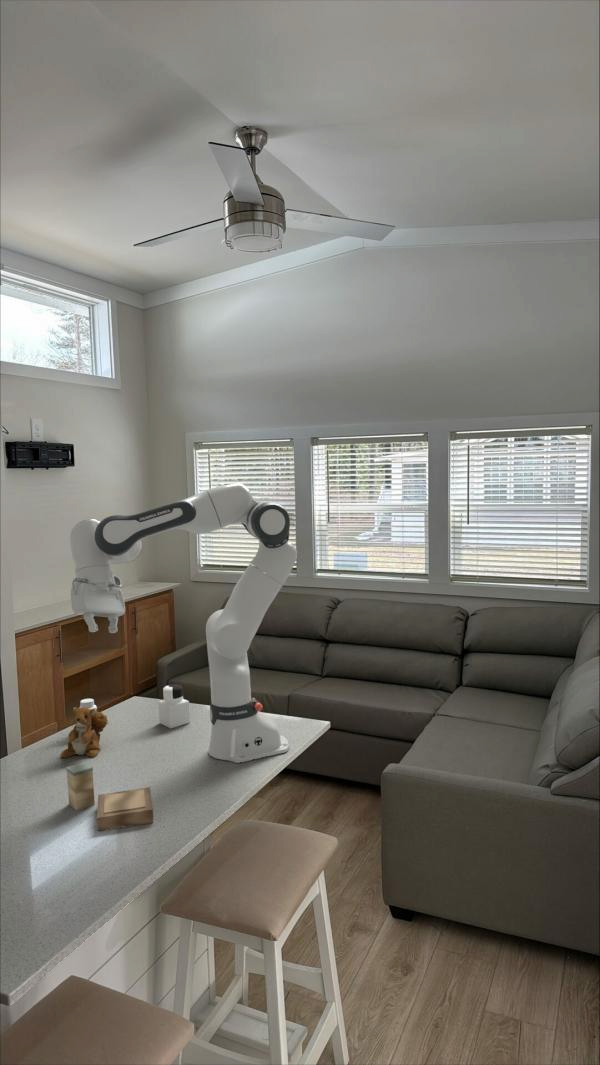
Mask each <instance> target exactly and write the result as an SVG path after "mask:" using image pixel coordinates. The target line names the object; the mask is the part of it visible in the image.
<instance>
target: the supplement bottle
mask: <svg viewBox="0 0 600 1065" xmlns="http://www.w3.org/2000/svg"><path fill="white" fill-rule="evenodd" d="M79 702H80V704H79V705H80V706H79V707H78V708H89V709H94V708H96V711H95V712H98V707H97V705H96V704H95V699H93V698H84V699H81V700H80V701H79Z"/></svg>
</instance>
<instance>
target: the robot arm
mask: <svg viewBox="0 0 600 1065" xmlns="http://www.w3.org/2000/svg"><path fill="white" fill-rule="evenodd" d="M239 523H240V524H242V526H243V527H244V528H245V530H246V531H247V532H248V534H250V536H252V537H254V538H255V539H256V540H258V542H259V543H258V549H257V552H256V554H255V556H254V557H253V558H252V560H251V562H250V563H249V564H248V566H247V567H246V569H245V570H244V572H243V573H242V575H241V576H240V578H238V581H237V582H236V584H235V585H234V586H233V589H232V592H231V594H230V596H229V598H228V600H227V602H226V604H225V606H224V608H222V609H219V610H216V611H214V612H213V613H212V614H211V615H210V616H209V617H208V619H207V621H206V625H205V636H206V647H207V648H206V649H207V650H206V651H207V658H208V660H207V661H208V669H209V670H208V671H209V681H210V682H209V683H210V699H211V701H210V702H209V717H210V718H209V719H210V722H211V730H210V731H211V732H210V733H211V734H210V741H209V746H208V752H207V753H208V754H209V756H211V758H212V757H213V758H214V759H217V760H221V761H222V760H224V761H230V762H232V763H236V764H237V763H239V764H240V762H241V763H245V762H248V761H253V759H254V760H258V759H263V758H267V757H271V756H274V755H279V754H284V753H286V752H288V750H289V749H290V745H289V741H288V739H287V738H286V737H285V736H284V735H282V734H281V733H280V730H279V727H278V725H277V723H276V722H275V721H274V719H272V718H271V717H270V716H267V715H266V714H264V713H262V712H261V711H262V710H263V708H264V707H263V704H261V702H259V700H257V699H256V698H255V697H252V690H251V672H250V666H249V659H248V651H249V649H250V646H251V644H252V641H253V639H254V637H255V636H256V633H257V632H258V630H259V627H260V625H261V624H262V621H263V619H264V617H265V614H266V613H267V610H268V609H269V608H270V606H271V604H272V602H273V601H274V600H275V598H276V597H277V595H278V593H279V592H280V590H281V589H282V588H283V586H284V584H285V582H286V581H287V579H288V577H289V576H290V574H291V572H292V570H293V569H294V566H295V563H296V561H297V559H298V550H297V548H296V547H295V545H294V544H293V543H291V541H290V527H291V519H290V515H289V512H288V510H287V509H286V508H285V507H284V506H283V505H282V504H280V503H278V502H274V501H270V500H256V499H255V498H254V497H253V495H252V493H251V491H250V489H249V488H248V487H247V486H246V485H244V484H243V483H240V482H235V483H228V484H224V485H223V484H222V485H220V486H216V487H214V488H213V487H212V488H210V489H209V488H208V489H207V490H204V491H202V492H199V493H197V494H193V495H191V496H189V497H186V498H183V499H182V500H178V501H176V502H173V503H168V504H166V505H163V506H158V507H155V508H153V509H149V510H146V511H143V512H142V511H141V512H140V513H137V514H131V515H121V514H120V515H118V514H116V515H110V516H107V517H105V518H103V519H102V520H101V521H99V520H97V519H93V518H91V519H85V520H82V521H79V522H78V523H76V524H75V525H74V526H72V528H71V530H70V535H69V536H70V538H69V539H70V550H71V556H72V559H73V562H74V564H75V568H74V573H75V577H74V579H73V580H72V582H71V588H70V599H71V601H70V602H71V609H72V611H73V613H74V614H75V615H80V616H83V621H85V623H86V625H87V626H88V631H89V632H90V633H96V632H98V631H99V626H98V623H96V621H95V618H94V617H103V618H107V619H108V621H109V625H108V626H107V628H108V632H109V633H110V634H115V633H117V632H118V622H119V617H122V616H124V615H125V612H126V604H125V598H124V593H123V591H122V589H121V587H122V586H123V583H122V580H121V578H119V577H118V576H117V575H116V574H114V573H113V571H111V567H110V564H112V565H113V564H114V565H117V564H120V565H121V564H128V563H132V562H134V561H135V560H136V559H137V558H138V557H140V554H141V552H142V551H143V542H142V540H143V539H145V538H148V537H151V536H155V535H158V534H161V533H164V532H167V531H171V530H182V531H187V532H189V533H192V534H195V535H203V534H207V533H212V532H215V531H217V530H221V529H223V528H225V527H227V526H230V525H234V524H239ZM266 756H267V757H266ZM262 757H263V758H262Z"/></svg>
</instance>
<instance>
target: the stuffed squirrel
mask: <svg viewBox="0 0 600 1065" xmlns="http://www.w3.org/2000/svg"><path fill="white" fill-rule="evenodd" d="M95 711H96V708H94V709H89V708H79V707H76V706H75V707H73V712H74V714H73V719H72V720H71V721H70V723H69V725H71V727H73V728H72V730H71V731H70V732H68V735H67V736H68V741H67V748H65V749H63V751H61V753H60V757H61V758H63V757H64V758H67V756H68V757H72V756H73V755H77V754H78V755H79V756H85V755H86V756H87V757H91V758H95V757H97V755H98V754H99V752H100V749H101V748H100V740H101V732H103V731H104V729H105V728H106V727H107V725H109V723H108V722H109V720H108V716H107V715H106V714H104V713H103V712H101V711H100V712H99V711H97V712H95ZM73 725H74V726H73Z"/></svg>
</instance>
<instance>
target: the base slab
mask: <svg viewBox="0 0 600 1065" xmlns="http://www.w3.org/2000/svg"><path fill="white" fill-rule="evenodd" d="M151 793H152V792H151V786H149V787H142V788H135V789H130V790H129V789H128V790H123V791H122V790H121V791H115V792H107V793H102V794H97V807H96V808H97V810H96V811H97V814H96V822H97V832H101V830H102V831H107V830H106V829H108V830H112V829H111V828H115V829H118V828H117V827H121V828H123V827H122V826H127V827H130V826H129V825H133V826H138V825H144V824H145V823H146V824H149V823H154V811H153V810H154V809H153V803H152V802H153V801H152V800H153V799H152V794H151Z"/></svg>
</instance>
